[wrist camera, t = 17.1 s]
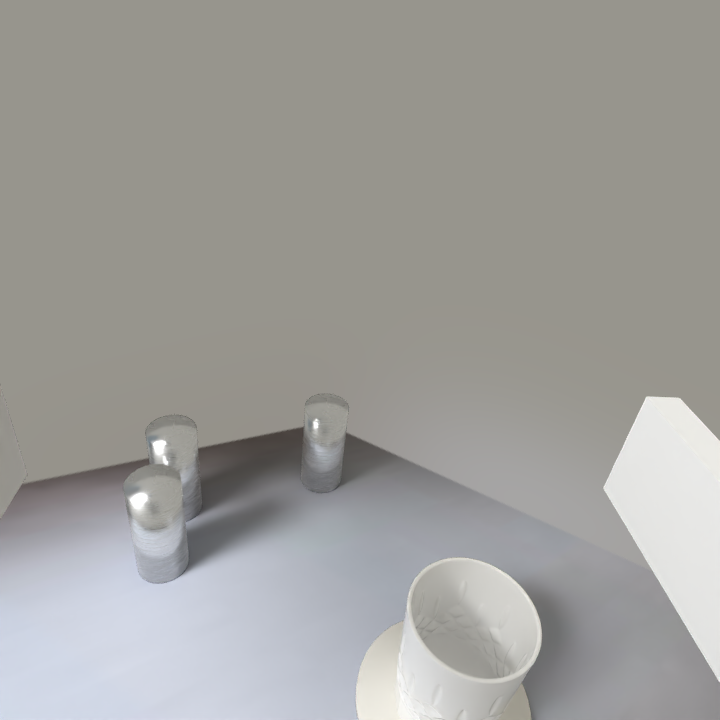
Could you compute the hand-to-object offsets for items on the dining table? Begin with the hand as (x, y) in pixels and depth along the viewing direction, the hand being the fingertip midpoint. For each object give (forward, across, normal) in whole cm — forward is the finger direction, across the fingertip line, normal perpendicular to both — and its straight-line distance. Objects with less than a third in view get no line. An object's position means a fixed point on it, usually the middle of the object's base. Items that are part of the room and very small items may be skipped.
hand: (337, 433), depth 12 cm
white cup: (+10, +10, -32) cm, 35 cm away
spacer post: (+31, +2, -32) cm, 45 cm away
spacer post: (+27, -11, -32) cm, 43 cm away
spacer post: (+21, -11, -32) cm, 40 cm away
